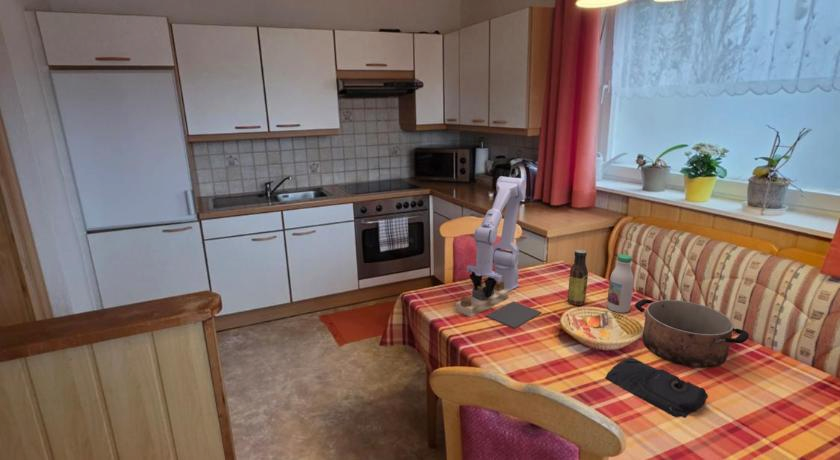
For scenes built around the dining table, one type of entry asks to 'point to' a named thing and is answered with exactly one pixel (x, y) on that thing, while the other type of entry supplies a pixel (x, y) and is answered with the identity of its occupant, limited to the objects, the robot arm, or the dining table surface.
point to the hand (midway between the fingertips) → (483, 294)
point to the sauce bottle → (578, 279)
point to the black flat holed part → (657, 387)
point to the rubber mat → (513, 314)
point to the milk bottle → (621, 285)
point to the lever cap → (480, 292)
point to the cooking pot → (688, 333)
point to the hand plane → (482, 301)
